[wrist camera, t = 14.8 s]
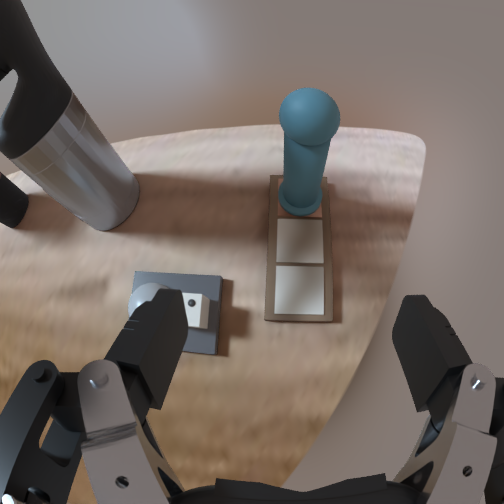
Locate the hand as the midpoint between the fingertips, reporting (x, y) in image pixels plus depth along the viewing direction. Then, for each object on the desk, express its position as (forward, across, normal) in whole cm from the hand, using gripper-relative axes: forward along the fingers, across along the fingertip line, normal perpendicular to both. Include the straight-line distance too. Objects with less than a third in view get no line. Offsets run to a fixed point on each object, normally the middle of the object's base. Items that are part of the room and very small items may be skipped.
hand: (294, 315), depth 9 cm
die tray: (+15, +11, +13) cm, 23 cm away
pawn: (+22, -2, +2) cm, 22 cm away
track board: (+20, -2, +7) cm, 21 cm away
